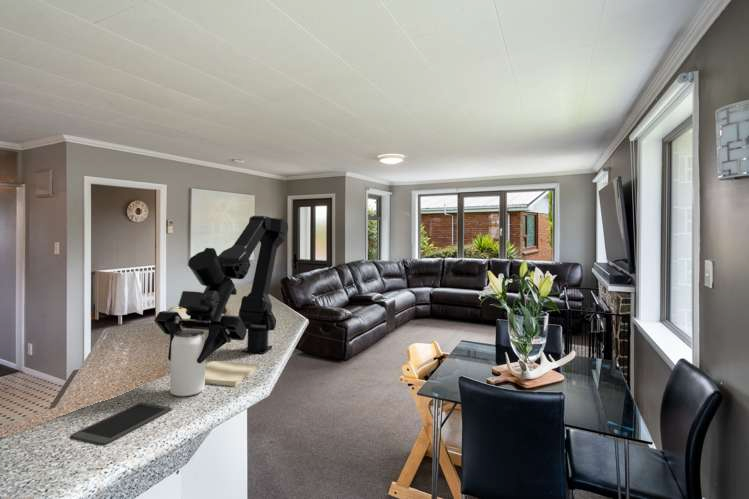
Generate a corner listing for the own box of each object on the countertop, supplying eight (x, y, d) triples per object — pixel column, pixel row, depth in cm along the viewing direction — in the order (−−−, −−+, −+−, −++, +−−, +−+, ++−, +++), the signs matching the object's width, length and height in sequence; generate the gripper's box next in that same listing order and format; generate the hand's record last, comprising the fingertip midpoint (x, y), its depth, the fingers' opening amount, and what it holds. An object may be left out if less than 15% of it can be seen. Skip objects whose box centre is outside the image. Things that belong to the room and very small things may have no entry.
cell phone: (67, 440, 62) (67, 435, 62) (142, 405, 75) (142, 401, 75) (104, 448, 60) (104, 443, 60) (174, 411, 73) (174, 407, 73)
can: (191, 399, 78) (193, 338, 78) (162, 395, 79) (164, 335, 79) (211, 387, 84) (212, 331, 84) (184, 383, 86) (185, 328, 85)
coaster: (212, 364, 99) (213, 360, 99) (258, 368, 98) (258, 364, 97) (183, 381, 87) (183, 376, 87) (235, 386, 86) (235, 381, 86)
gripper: (161, 274, 86) (121, 336, 76) (242, 278, 84) (213, 344, 73) (182, 304, 94) (148, 364, 84) (257, 309, 92) (232, 372, 81)
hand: (183, 361), depth 80 cm, fingers closed on can, 6 cm apart
